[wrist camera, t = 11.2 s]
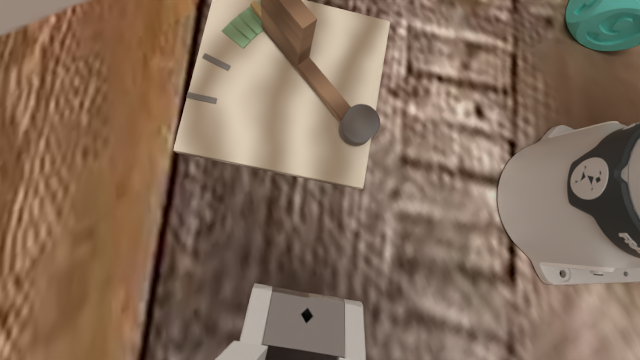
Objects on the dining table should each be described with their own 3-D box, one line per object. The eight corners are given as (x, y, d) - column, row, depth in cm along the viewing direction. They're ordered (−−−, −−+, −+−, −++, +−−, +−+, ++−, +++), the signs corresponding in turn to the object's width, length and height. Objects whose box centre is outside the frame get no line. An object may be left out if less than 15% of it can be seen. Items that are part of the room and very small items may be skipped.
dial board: (386, 27, 43) (390, 20, 42) (360, 189, 40) (363, 188, 38) (219, -15, 41) (217, -23, 40) (176, 152, 38) (172, 149, 36)
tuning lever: (378, 132, 39) (404, 106, 31) (353, 152, 38) (374, 131, 30) (266, -2, 40) (264, -60, 32) (240, 15, 39) (231, -40, 31)
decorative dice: (623, 8, 48) (692, -36, 40) (613, 59, 47) (682, 24, 39) (570, -15, 48) (629, -64, 40) (558, 37, 46) (617, -4, 38)
